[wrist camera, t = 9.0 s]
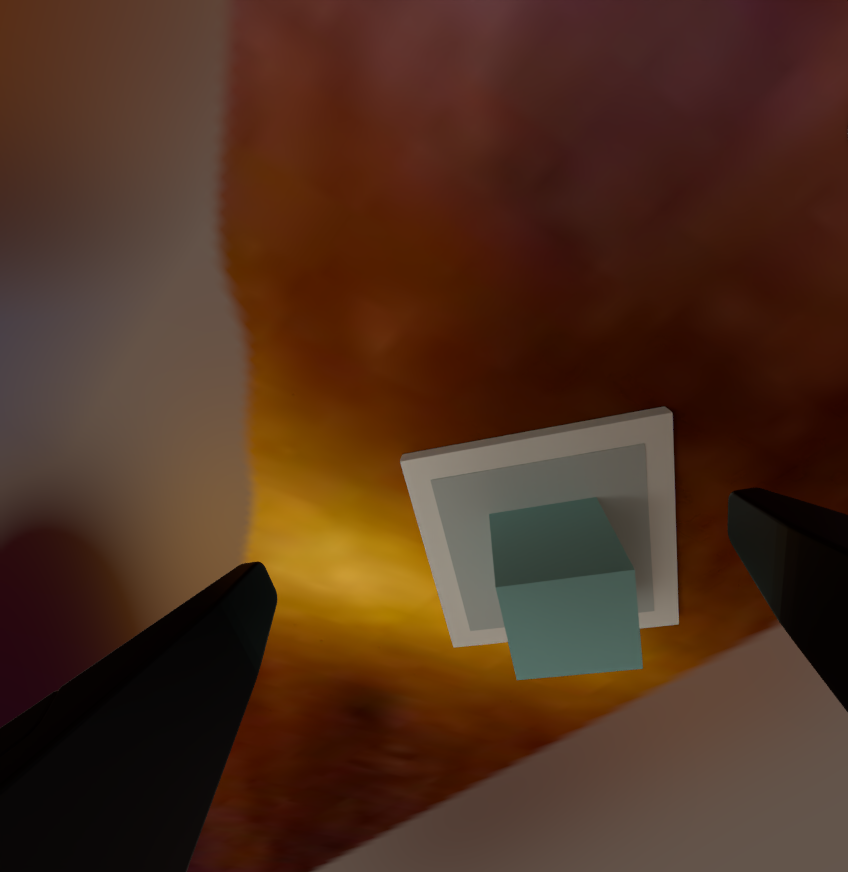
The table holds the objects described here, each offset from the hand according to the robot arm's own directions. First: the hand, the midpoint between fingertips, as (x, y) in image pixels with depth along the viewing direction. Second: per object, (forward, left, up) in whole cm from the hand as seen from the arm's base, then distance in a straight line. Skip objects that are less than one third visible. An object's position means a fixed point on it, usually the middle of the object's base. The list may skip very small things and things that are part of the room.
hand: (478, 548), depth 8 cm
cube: (-2, +9, -11) cm, 14 cm away
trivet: (-2, +9, -12) cm, 15 cm away
